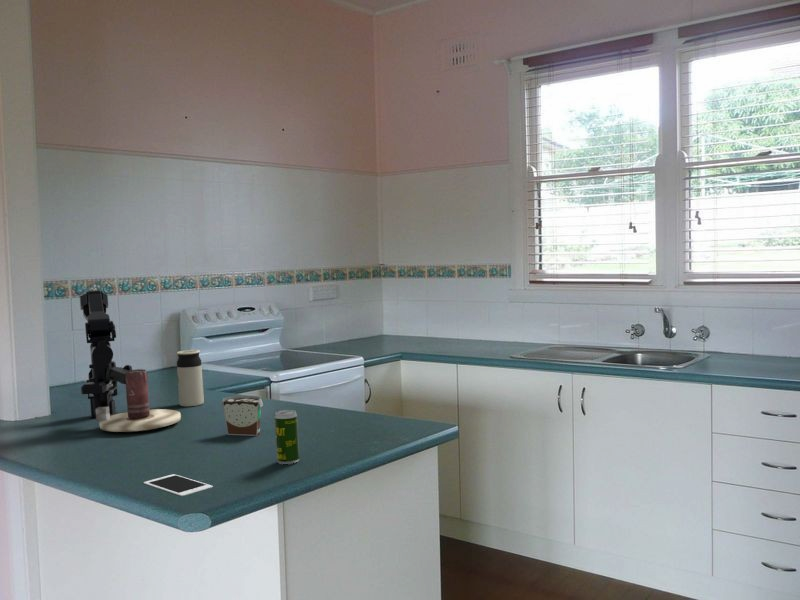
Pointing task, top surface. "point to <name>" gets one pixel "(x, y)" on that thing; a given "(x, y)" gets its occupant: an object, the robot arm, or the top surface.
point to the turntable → (135, 420)
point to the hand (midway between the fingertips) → (105, 411)
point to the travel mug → (190, 378)
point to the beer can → (286, 437)
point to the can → (137, 394)
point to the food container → (242, 415)
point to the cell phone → (178, 485)
